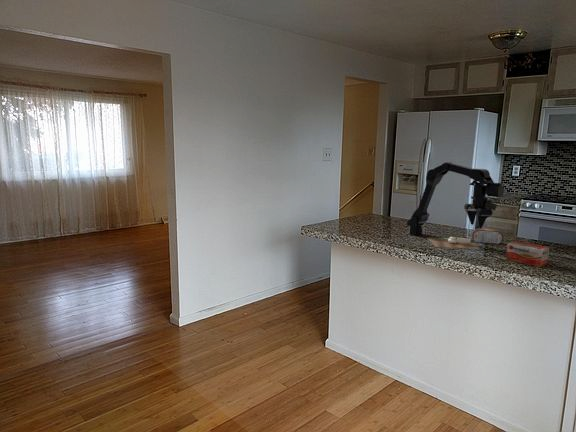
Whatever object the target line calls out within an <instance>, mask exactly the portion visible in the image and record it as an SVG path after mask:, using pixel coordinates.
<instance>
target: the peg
mask: <svg viewBox="0 0 576 432" xmlns="http://www.w3.org/2000/svg"><path fill="white" fill-rule="evenodd" d="M447 238H448V242H449V243H457V241H460V242H469V243H474V244H475V242H474V239H472V238H464V237H456V236H449V237H447Z"/></svg>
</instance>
